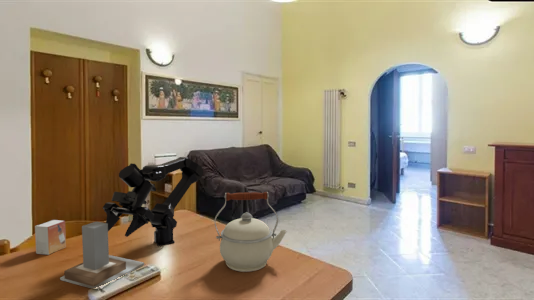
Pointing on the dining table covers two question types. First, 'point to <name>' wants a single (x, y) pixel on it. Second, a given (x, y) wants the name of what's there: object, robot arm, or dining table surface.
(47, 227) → the small box
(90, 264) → the post
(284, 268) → the dining table surface
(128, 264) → the plinth
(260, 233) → the kettle
